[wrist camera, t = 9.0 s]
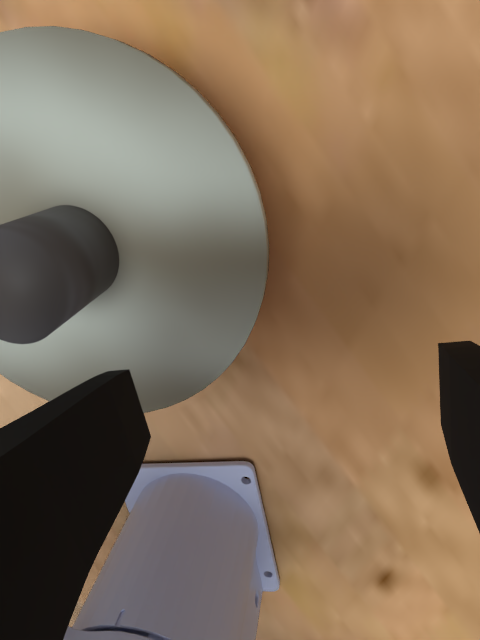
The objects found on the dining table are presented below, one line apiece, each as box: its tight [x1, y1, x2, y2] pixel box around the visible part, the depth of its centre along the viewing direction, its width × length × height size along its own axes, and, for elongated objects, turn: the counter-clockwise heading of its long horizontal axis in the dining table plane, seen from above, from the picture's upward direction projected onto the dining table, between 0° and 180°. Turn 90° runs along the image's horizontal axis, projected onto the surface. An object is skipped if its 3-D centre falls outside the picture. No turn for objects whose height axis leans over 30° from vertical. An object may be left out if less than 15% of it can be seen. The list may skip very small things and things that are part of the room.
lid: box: [0, 26, 269, 413], centre depth 14 cm, size 13×13×4 cm
